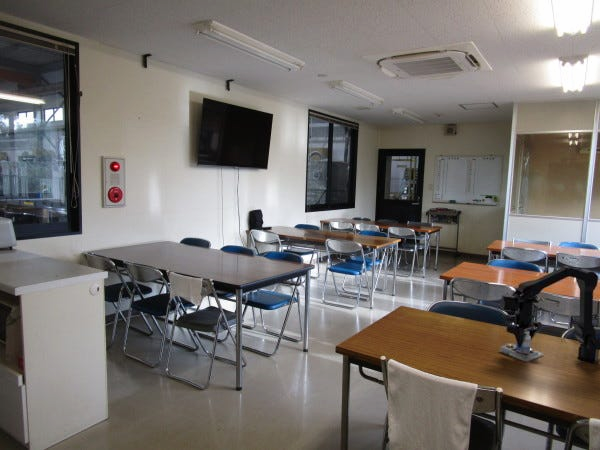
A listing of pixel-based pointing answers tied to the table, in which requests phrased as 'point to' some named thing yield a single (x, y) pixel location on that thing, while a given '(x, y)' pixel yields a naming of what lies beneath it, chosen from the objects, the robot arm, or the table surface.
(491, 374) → the table surface
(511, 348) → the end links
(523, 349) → the pill bottle
